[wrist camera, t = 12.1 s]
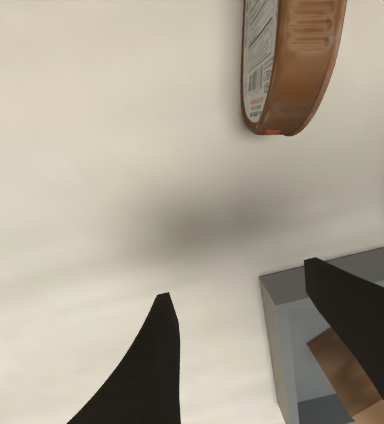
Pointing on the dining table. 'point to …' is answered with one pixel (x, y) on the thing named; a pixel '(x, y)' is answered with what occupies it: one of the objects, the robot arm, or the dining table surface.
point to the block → (347, 378)
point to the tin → (287, 61)
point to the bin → (301, 334)
